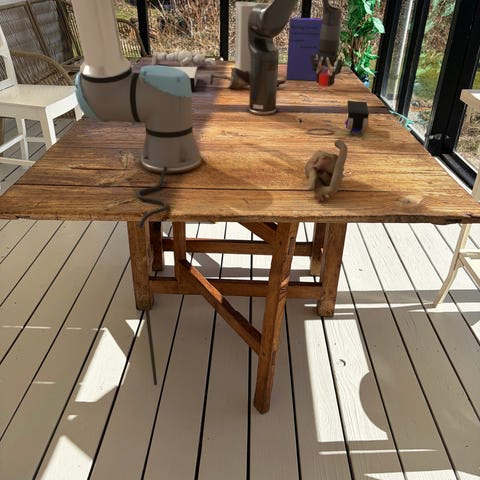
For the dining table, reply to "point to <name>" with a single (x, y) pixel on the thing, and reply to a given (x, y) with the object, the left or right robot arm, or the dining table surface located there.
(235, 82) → the figurine
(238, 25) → the tall white carton
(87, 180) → the dining table surface
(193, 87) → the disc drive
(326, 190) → the brown monkey figure
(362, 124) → the figurine character
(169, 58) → the toy
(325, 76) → the tin
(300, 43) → the cereal box
